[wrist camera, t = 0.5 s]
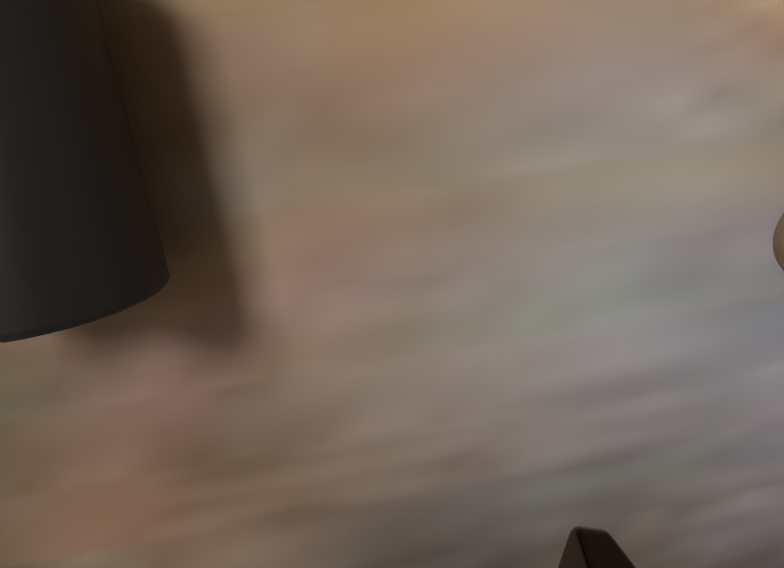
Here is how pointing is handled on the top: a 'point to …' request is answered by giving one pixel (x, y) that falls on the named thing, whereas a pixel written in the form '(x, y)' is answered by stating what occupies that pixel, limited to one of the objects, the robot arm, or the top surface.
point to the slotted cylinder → (779, 242)
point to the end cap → (67, 176)
